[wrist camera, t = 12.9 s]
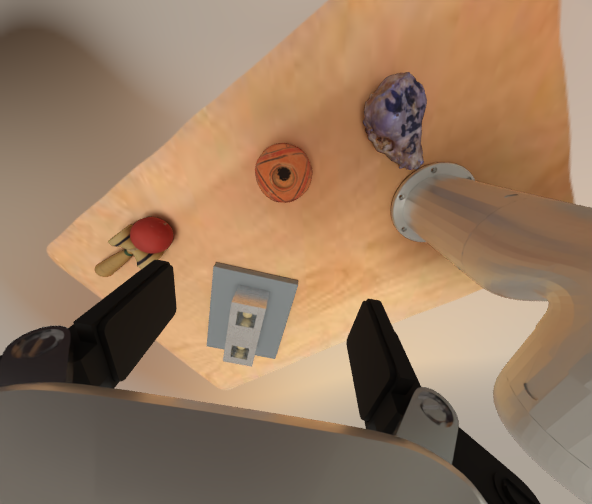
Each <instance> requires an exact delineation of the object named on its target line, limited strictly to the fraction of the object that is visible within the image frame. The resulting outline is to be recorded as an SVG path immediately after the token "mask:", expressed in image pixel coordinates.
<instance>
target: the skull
mask: <svg viewBox="0 0 592 504" xmlns="http://www.w3.org/2000/svg"><path fill="white" fill-rule="evenodd" d="M426 104H427V99H426V95H425V90H424V88H423V86H422V84H420V83H419V82H417V81H416V79H415V77H414V76H413V75H411V74H410V72H406V73H398V74H395V75H390V76H388V77H387V78H385V80H384V81H383V82H382V83H381V84H380V86H379V87H378V89H377V90H376V91H375V93H374V94H370V97H369V100H368V101H366V102H365V111H364V115H365V118H364V120H363V123H364V125H365V127H366V128H365V131H366V133H367V134H368V139H369V140H371V141H372V142H373V144H374V146H375V149H376V150H377V151H378V152H381V153H384V154H386V155H387V157H389V158H390V159H391V161H394V162H396V163H398V164H400V167H399V168H403V167H405V168H406V169H408V170H412V169H418V168H419V167H420V166H421V165H422V164H423V163H424V161H423V156H422V155H423V151H422V146H421V134H422V130H421V129H422V119H423V116H424V112H425V108H426ZM379 137H380V138H381V140H378V138H379Z"/></svg>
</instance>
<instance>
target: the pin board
mask: <svg viewBox="0 0 592 504" xmlns="http://www.w3.org/2000/svg"><path fill="white" fill-rule="evenodd" d="M239 285H243V286H248V287H252V288H257V289H261V290H266V291H270V292H269V297H268V302H267V306H266V311H265V315H264V319H263V323H262V327H261V331H260V335H259V339H258V343H257V348H256V352H255V355H257V356H262V357H267V358H273V359H275V358H276V354H277V351H278V348H279V345H280V342H281V338H282V335H283V332H284V329H285V325H286V322H287V319H288V316H289V312H290V309H291V306H292V303H293V300H294V296H295V293H296V290H297V287H298V280H294V279H289V278H285V277H280V276H276V275H271V274H267V273H262V272H258V271H253V270H249V269H244V268H240V267H235V266H231V265H226V264H222V263H217V262H216V264H215V265H214V268H213V280H212V291H211V303H210V315H209V326H208V338H207V346H209V347H214V348H219V349H225V343H226V336H227V329H228V323H229V316H230V309H231V302H232V300H233V297H234V295H235V293H236V290H237V288H238V286H239ZM243 316H244V317H246V318H250V317H251V316H252V314H249V313H244V312H243ZM237 348H238V349H241V350H243V349H245V348H243V347H238V346H237Z"/></svg>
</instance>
